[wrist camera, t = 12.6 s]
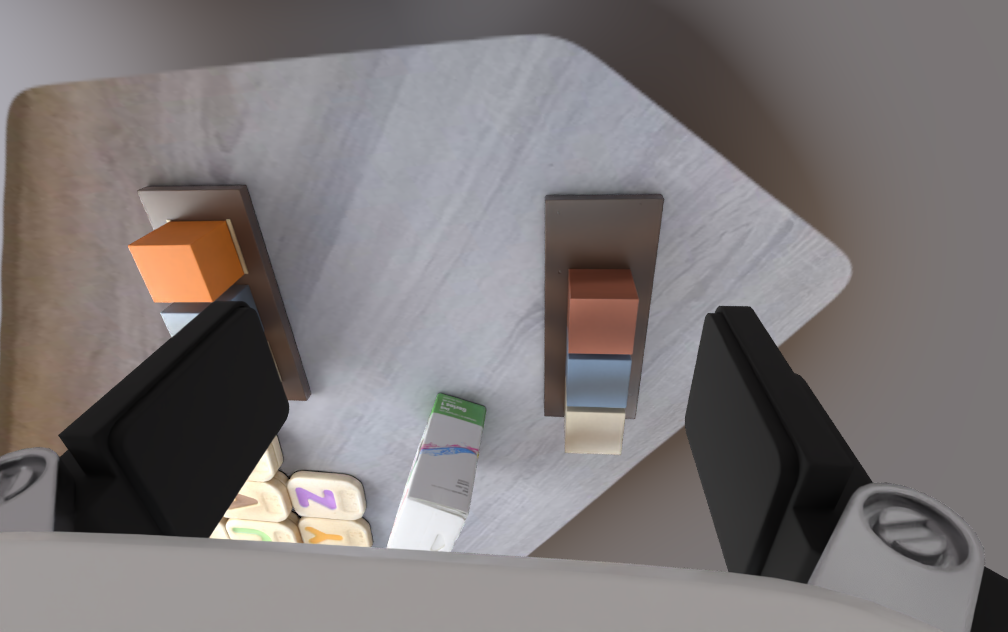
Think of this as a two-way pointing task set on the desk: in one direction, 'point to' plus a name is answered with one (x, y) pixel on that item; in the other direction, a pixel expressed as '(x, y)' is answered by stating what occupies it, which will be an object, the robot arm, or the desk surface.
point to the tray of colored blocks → (251, 251)
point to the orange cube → (187, 261)
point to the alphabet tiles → (296, 507)
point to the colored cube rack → (597, 312)
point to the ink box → (440, 478)
